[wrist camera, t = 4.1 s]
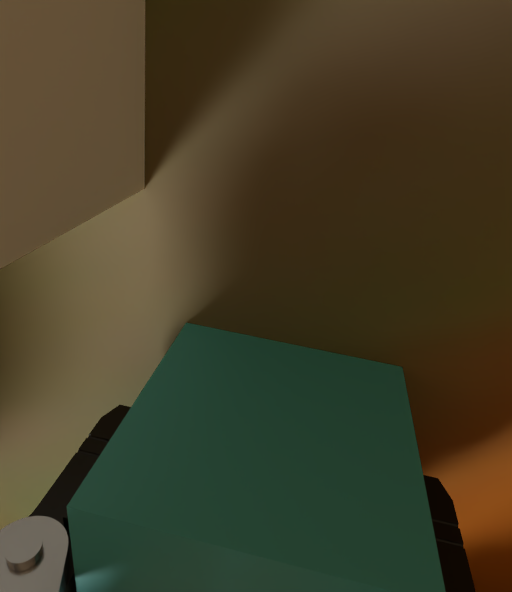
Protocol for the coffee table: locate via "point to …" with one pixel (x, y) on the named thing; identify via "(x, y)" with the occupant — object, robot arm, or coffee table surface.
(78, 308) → the coffee table surface
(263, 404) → the teal block
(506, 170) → the coffee table surface
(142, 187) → the off-white block
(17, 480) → the coffee table surface
